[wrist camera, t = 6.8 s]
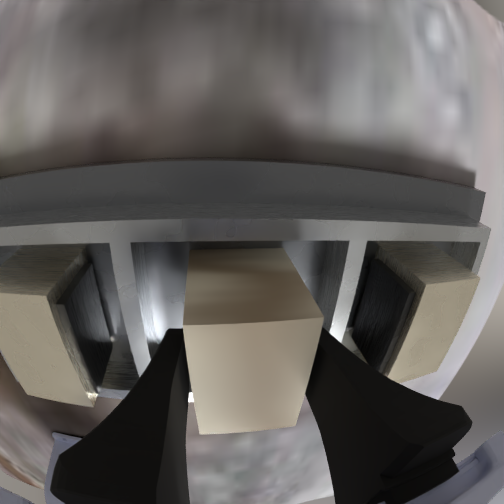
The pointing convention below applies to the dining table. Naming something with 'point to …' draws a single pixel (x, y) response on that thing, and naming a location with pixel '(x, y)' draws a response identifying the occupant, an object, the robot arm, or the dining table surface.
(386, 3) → the dining table surface
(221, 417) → the birch block
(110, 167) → the rail
